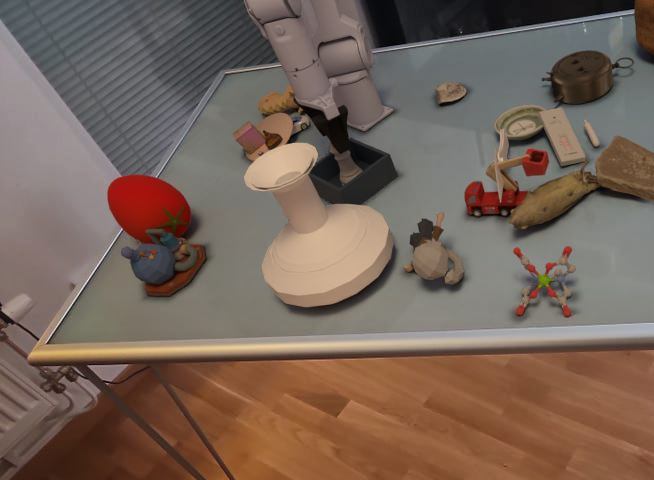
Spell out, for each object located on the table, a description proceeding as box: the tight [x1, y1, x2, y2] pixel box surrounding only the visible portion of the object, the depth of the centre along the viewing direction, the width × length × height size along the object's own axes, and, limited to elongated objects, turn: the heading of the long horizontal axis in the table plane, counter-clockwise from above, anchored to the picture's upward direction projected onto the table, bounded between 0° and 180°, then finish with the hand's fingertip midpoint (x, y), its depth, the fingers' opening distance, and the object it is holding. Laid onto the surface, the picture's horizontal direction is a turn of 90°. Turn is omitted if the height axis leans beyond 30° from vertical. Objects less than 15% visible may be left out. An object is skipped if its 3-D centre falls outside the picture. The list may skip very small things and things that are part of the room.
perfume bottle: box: [232, 112, 293, 162], centre depth 122 cm, size 12×12×4 cm
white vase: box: [243, 142, 395, 308], centre depth 88 cm, size 20×20×19 cm
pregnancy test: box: [539, 106, 600, 167], centre depth 101 cm, size 8×12×1 cm, turn 14°
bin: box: [308, 137, 399, 205], centre depth 107 cm, size 11×11×4 cm
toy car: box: [290, 115, 310, 137], centre depth 125 cm, size 4×12×3 cm, turn 125°
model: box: [120, 229, 207, 297], centre depth 101 cm, size 12×9×9 cm
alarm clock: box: [540, 49, 635, 105], centre depth 111 cm, size 11×5×16 cm
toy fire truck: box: [463, 147, 550, 218], centre depth 91 cm, size 3×14×10 cm, turn 75°
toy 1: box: [257, 84, 305, 116], centre depth 132 cm, size 5×12×20 cm
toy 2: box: [403, 211, 465, 285], centre depth 89 cm, size 11×8×15 cm
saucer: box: [493, 104, 547, 141], centre depth 107 cm, size 10×10×2 cm
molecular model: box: [512, 245, 577, 317], centre depth 79 cm, size 7×8×8 cm
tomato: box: [106, 174, 192, 246], centre depth 107 cm, size 13×11×14 cm
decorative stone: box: [594, 135, 654, 202], centre depth 90 cm, size 10×6×15 cm
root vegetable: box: [507, 159, 602, 230], centre depth 91 cm, size 5×20×5 cm
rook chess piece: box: [329, 142, 363, 186], centre depth 106 cm, size 4×4×8 cm
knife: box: [494, 129, 510, 203], centre depth 93 cm, size 26×4×1 cm
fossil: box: [434, 81, 467, 105], centre depth 121 cm, size 8×4×6 cm
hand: (336, 141), depth 103 cm, fingers open, 7 cm apart
